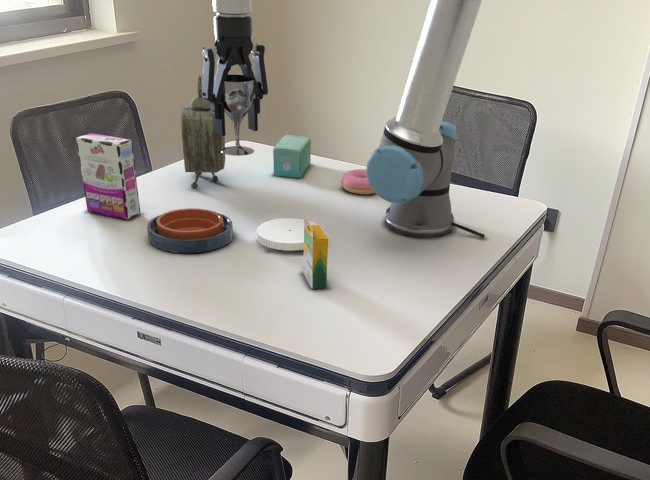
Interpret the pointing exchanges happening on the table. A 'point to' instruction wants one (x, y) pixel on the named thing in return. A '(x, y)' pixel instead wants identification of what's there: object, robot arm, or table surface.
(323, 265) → the crayon box
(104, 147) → the candy bar box
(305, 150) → the box
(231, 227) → the serving bowl
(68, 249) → the table surface
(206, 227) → the small bowl
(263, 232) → the plastic lid
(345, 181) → the doughnut
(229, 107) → the wine glass
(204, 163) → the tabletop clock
